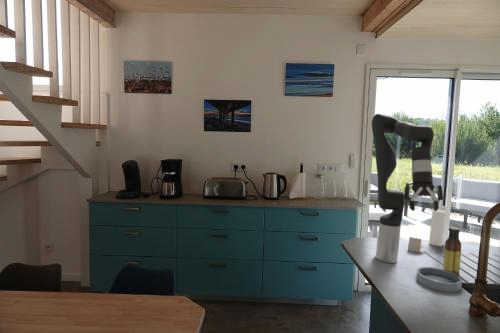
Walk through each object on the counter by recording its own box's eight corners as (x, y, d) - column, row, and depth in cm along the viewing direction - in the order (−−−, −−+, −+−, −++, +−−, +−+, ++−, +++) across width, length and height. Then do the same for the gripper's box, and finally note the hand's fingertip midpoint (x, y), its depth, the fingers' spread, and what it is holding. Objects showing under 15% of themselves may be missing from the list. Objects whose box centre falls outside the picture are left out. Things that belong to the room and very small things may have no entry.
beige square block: (408, 249, 176) (409, 235, 175) (423, 252, 173) (424, 238, 172) (407, 250, 173) (409, 236, 173) (422, 253, 170) (424, 239, 169)
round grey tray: (408, 274, 141) (409, 266, 141) (442, 274, 143) (443, 267, 143) (432, 291, 126) (433, 283, 126) (470, 291, 128) (471, 283, 127)
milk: (440, 246, 181) (445, 207, 179) (428, 243, 186) (433, 205, 183) (443, 244, 186) (448, 205, 184) (431, 241, 190) (435, 203, 188)
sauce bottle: (457, 271, 148) (462, 227, 146) (460, 276, 142) (466, 231, 140) (440, 268, 150) (445, 225, 148) (443, 273, 144) (448, 228, 142)
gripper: (437, 173, 142) (439, 211, 140) (401, 173, 145) (403, 210, 143) (443, 170, 135) (446, 210, 133) (406, 170, 138) (408, 210, 135)
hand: (424, 210), depth 138 cm, fingers open, 8 cm apart
